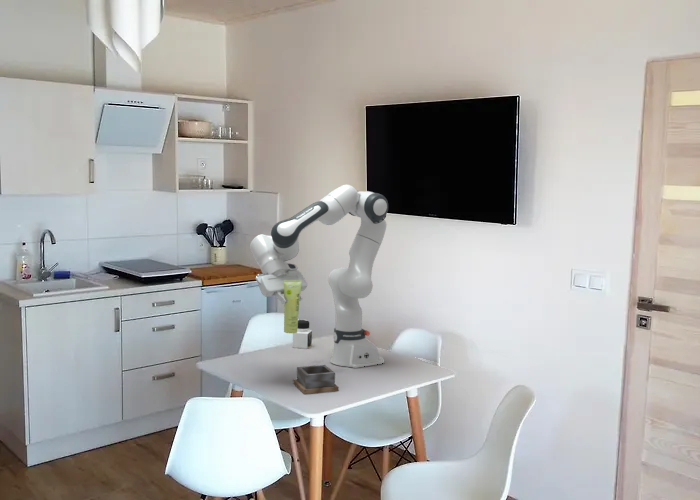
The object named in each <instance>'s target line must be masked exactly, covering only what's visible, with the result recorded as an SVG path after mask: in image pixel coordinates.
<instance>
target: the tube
mask: <svg viewBox="0 0 700 500" xmlns="http://www.w3.org/2000/svg"><path fill="white" fill-rule="evenodd" d="M283 284H284V294H283V297H286V298H287V300H288V302H287V303H286V304H283V308H284V311H283V315H284V316H283V317H284V318H283V324H284V326H283V332H284V333H285V334H293V333H297V329H298V320H299V314H300V313H299V312H300V311H299V310H300V302H301V301H300V292H301V293H302V291H301V285H302V280H284V281H283Z"/></svg>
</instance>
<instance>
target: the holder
mask: <svg viewBox="0 0 700 500" xmlns="http://www.w3.org/2000/svg"><path fill="white" fill-rule="evenodd" d="M292 384H293V385H294V386H295V387H296V388H297V389H298V390H299V391H300V392H301V393H302V394H303V395H311V394H320V393H323V394H324V393H332V392H339V386H338V385H337V384H336V372H334V371H333V370H332V369H331V368H330V367H328V366H327V365H326V364H317V365H308V366H307V365H306V366H297V367H296V378H295V379H293V380H292Z"/></svg>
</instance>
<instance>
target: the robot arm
mask: <svg viewBox="0 0 700 500" xmlns="http://www.w3.org/2000/svg"><path fill="white" fill-rule="evenodd" d="M388 211H389V203H388V199H387V198H386V197H385V196H384V195H383V194H380V193H378V192H373V191H369V190H367V191H366V190H361V191H360V190H357V189H356V188H355V187H354V186H352V185H351V184H342V185H340V186H339V187H337V188H334V189H333V190H332V191H330V192H329V193H327V194H326V195H325V196H324V197H322V198H321V199H320V200H318V201H315V202H313V203H312V204H310V205H308V206H306V207H305V208H304V209H302V210H301V211H299V212H298V213H296V214H294V215H293V216H291V217H289V218H287V219H283V220H280V221H278V222H276V223H275V224H274V225H273V227H272V228H271V231H270V235H267V234H262V233H261V234H258V235H256V236H255V237H254V238H253V239H252V240H251V242H250V245H249V251H250V253H251V256H252V257H253V260H254V261H255V262H256V265H258V266H259V268H260V272H261V273H258V274H257V275H256V276H255V280H256V282H257V284H258V288H259V290H260V292H261V295H262V296H263V297H264V298H265V297H266V298H267V297H275V299H277V300H279V301H280V302H281V304H282V305H284V304H286V303H287V302H288V300H287V298H286V297H284V284H283V281H284V280H302V285H301V292H300V302H301V301H303V296H302V294H301V293H302V292H304V291H305V290H306V289H307V287H308V281H307V280H306V278H305V277H304V275H303V273H302V272H301V271H299V270H298V268H299V267H298V266H297V265H296V264H294V263H290V262H288V261H291V260H293V259H294V258H295V257H297V256H298V254H299V251H300V243H299V237H300V234H301V233H302V231H303V230H305V229H306V228H308V227H309V226H311V225H312V224H313V223H315V222H318V221H319V222H320V223H321V224H323V225H326V226H333V225H334V224H336V223H339V221H340V220H342V219H344V218H345V216H347V215H348V214H349V215H351V216H354V217H357V218H359V219H360V226H359V228H358V230H357V232H356V235H355V237H354V239H353V241H352V244H351V246H350V248H349V251H348V255H349V261H348V262H349V263H348V267H338V268H334V269H333V270H331V271H330V273H329V275H328V279H327V281H328V285H329V286H330V287H329V288H330V289H331V292H332V297H333V302H334V309H335V310H334V311H335V325H334V328H333V342H334V343H333V349H332V353H331V354H332V355H331V358H330V361H329V362H330V363H331V364H333V365H336V366H339V367H340V366H341V367H347V368H348V367H349V368H354V369H358V368H364V366H365V367H369V366H378V365H383V364H384V363H385V359H384V358H383V357H382V356H380V355H379V354H380V353H379V348H378V347H377V345H375V343H373V342H372V341H371V340H369V339H368V338H367V337H369V336H370V335H371V332H370V330H365V329H364V328H363V309H362V307H361V305H360V301H359V299H365V298H367V297H369V295H371V293H372V290H373V286H374V285H373V281H372V273H373V272H372V271H373V267H374V263H375V260H376V257H377V255H378V252H379V251H380V248H381V245H382V243H383V241H384V237H385V233H386V230H387V221H386V220H385V219H386V217H387V213H388ZM366 336H367V337H366ZM382 363H383V364H382ZM377 364H378V365H377Z"/></svg>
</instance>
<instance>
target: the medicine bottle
mask: <svg viewBox="0 0 700 500" xmlns="http://www.w3.org/2000/svg"><path fill="white" fill-rule="evenodd" d="M312 336H313V329H310V320H308V319H298V329H297V333H292V348H294V349H307V350H308V349H309V348H310V347H311V346H312V344H313V343H312V339H313V337H312Z"/></svg>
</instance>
